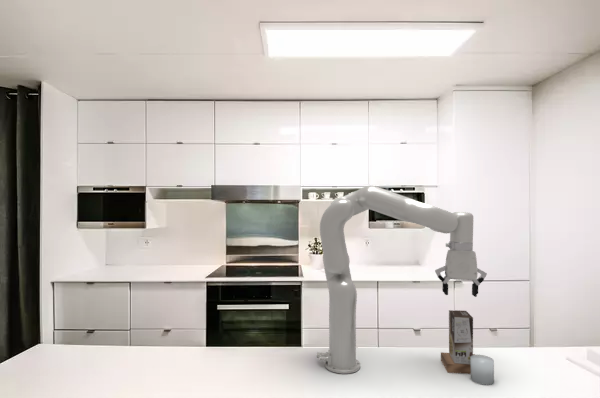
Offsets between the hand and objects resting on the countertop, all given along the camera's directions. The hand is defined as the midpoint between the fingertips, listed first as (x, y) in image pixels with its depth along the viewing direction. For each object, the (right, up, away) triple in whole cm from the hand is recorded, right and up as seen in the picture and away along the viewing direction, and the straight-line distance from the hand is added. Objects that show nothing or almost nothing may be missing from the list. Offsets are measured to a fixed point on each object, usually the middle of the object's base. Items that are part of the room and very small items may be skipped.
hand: (460, 295), depth 135 cm
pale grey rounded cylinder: (+3, -26, -10) cm, 28 cm away
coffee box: (0, -23, 0) cm, 23 cm away
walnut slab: (+1, -26, 0) cm, 26 cm away
